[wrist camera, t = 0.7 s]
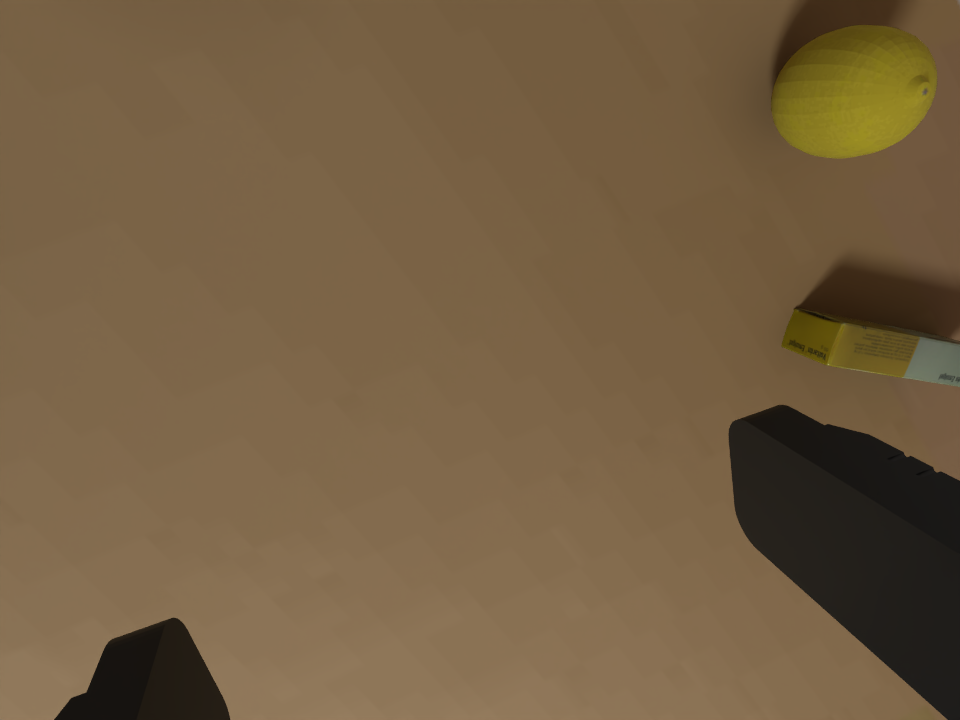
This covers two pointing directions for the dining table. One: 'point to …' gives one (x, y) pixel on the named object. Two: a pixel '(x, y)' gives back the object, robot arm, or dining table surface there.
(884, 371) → the medication box
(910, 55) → the lemon
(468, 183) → the dining table surface
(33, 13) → the dining table surface
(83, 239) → the dining table surface
